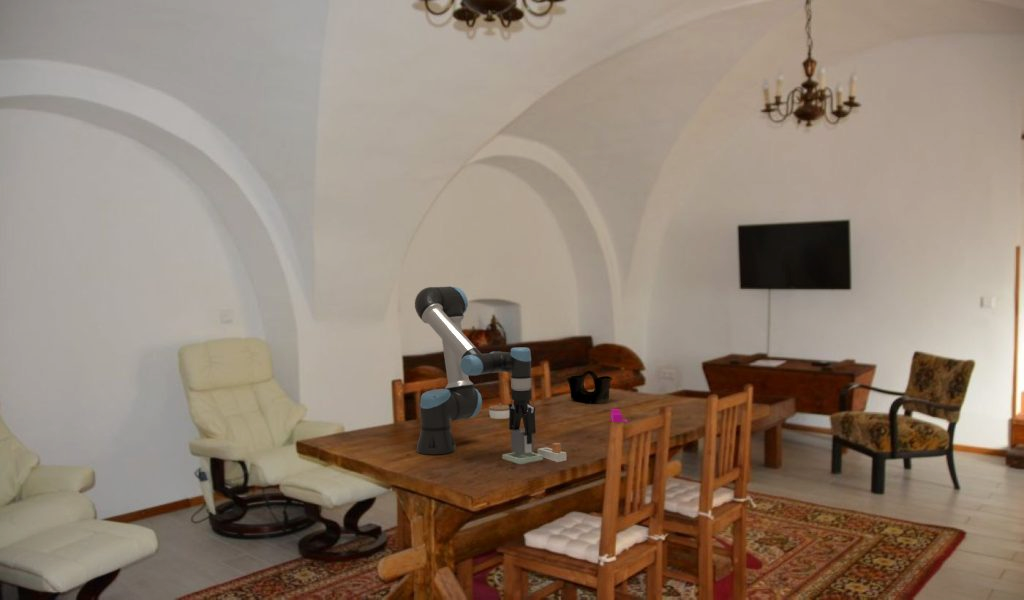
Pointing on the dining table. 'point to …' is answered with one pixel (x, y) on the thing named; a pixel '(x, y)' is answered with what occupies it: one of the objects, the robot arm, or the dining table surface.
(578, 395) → the black handbag
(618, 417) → the toy block
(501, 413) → the lidded jar
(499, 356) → the robot arm
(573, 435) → the dining table surface
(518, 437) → the grey rectangular block
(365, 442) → the dining table surface
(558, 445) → the breaker switch
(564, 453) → the breaker housing
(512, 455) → the tray
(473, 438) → the dining table surface
